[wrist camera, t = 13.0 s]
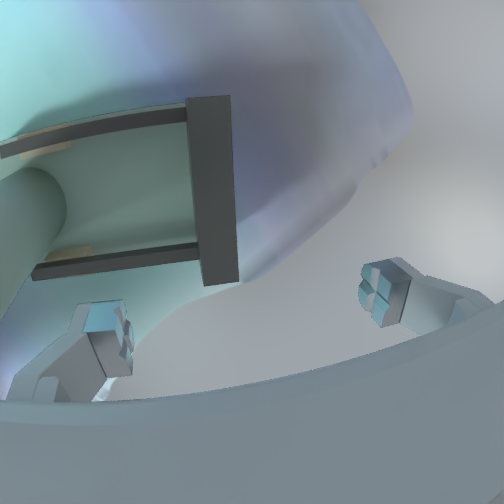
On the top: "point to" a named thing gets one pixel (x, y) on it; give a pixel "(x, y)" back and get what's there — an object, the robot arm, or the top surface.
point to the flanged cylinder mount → (93, 197)
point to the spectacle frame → (202, 183)
